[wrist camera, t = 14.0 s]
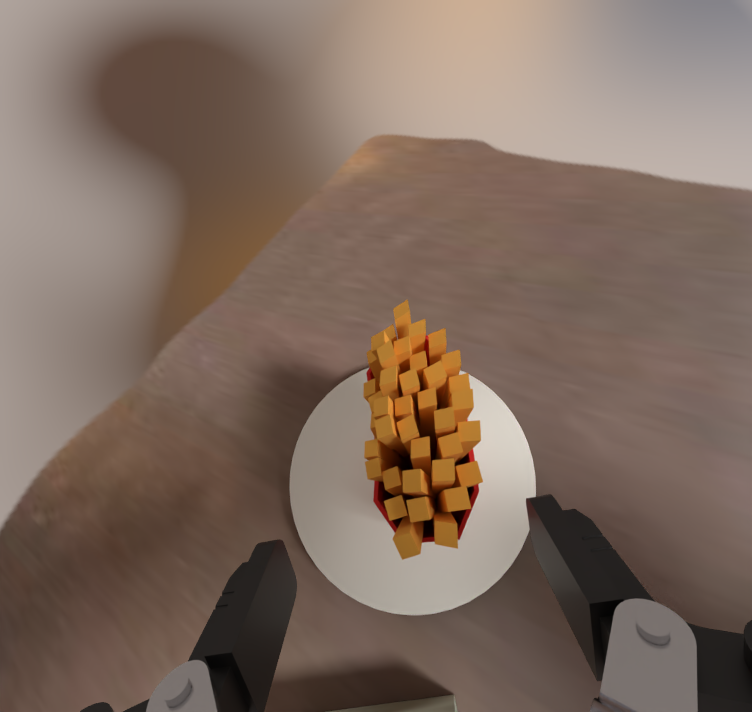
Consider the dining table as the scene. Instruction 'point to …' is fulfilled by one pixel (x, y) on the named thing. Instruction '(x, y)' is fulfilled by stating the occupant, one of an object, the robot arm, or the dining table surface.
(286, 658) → the dining table surface
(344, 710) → the open rectangular box
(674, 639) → the robot arm
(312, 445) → the ceramic plate
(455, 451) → the french fries
